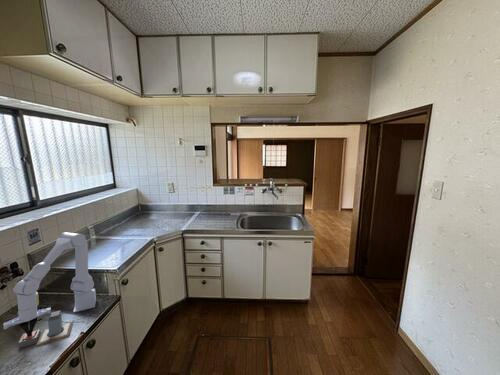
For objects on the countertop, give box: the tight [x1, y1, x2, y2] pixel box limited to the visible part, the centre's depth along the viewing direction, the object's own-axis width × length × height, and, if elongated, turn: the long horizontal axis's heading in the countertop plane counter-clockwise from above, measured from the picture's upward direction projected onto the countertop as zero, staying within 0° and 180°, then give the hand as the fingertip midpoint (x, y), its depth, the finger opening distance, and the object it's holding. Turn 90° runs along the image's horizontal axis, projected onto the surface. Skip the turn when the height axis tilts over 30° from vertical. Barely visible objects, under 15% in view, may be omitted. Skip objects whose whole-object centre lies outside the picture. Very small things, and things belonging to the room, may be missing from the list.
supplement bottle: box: [36, 291, 40, 307], centre depth 119 cm, size 5×5×10 cm
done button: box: [23, 330, 37, 340], centre depth 97 cm, size 4×4×2 cm
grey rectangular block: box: [47, 310, 63, 336], centre depth 101 cm, size 4×4×9 cm
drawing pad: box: [36, 321, 74, 347], centre depth 101 cm, size 11×10×1 cm
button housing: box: [18, 328, 41, 349], centre depth 97 cm, size 6×6×3 cm
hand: (29, 334), depth 97 cm, fingers closed, pressing on done button
